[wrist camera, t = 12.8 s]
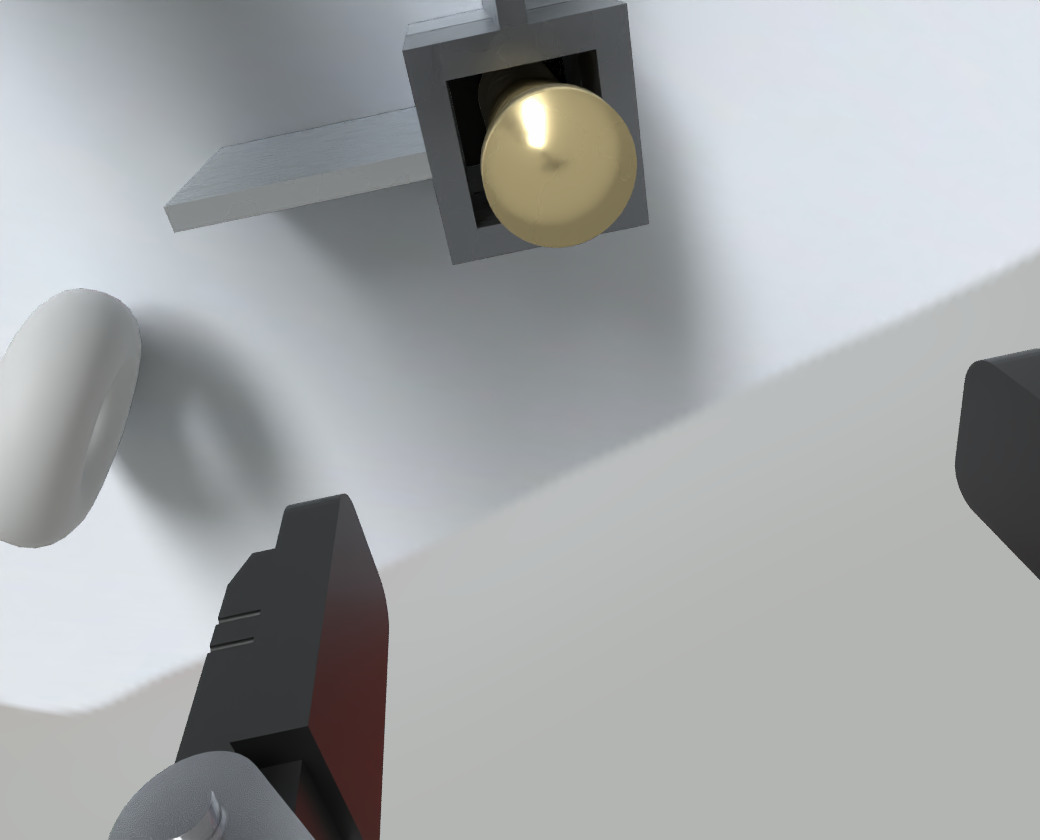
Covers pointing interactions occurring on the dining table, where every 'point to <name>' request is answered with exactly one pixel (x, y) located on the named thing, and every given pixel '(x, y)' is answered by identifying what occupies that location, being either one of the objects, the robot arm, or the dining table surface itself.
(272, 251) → the dining table surface
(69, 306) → the donut
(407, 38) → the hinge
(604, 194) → the pin
